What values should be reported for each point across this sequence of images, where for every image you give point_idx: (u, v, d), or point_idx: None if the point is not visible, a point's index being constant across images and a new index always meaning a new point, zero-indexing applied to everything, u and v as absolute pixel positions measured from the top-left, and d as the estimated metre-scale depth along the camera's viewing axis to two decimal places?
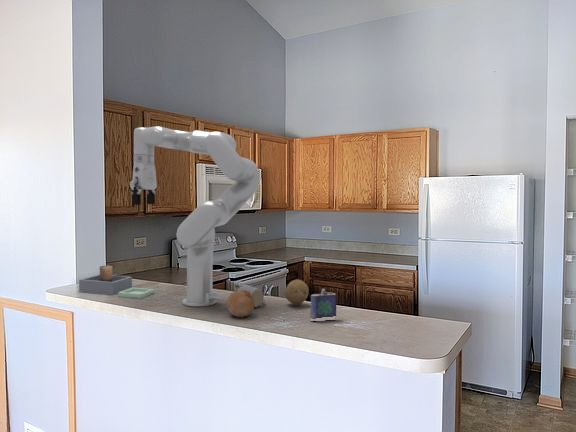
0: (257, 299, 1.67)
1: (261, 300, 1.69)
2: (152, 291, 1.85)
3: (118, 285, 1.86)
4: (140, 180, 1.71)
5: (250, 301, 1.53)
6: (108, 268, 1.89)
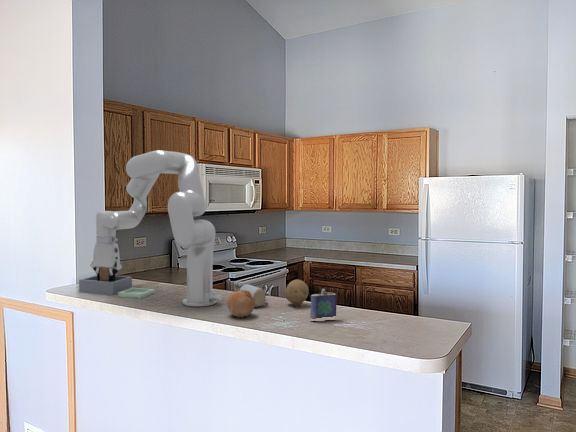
0: (259, 299, 1.68)
1: (263, 299, 1.70)
2: (152, 291, 1.85)
3: (118, 285, 1.86)
4: (118, 259, 1.91)
5: (250, 301, 1.53)
6: (108, 268, 1.89)
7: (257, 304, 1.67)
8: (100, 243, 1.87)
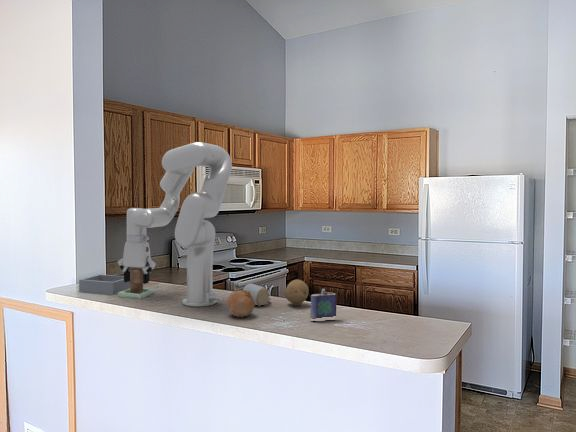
0: (263, 298, 1.69)
1: (266, 299, 1.71)
2: (152, 291, 1.85)
3: (118, 285, 1.86)
4: (149, 258, 1.83)
5: (250, 301, 1.53)
6: (139, 271, 1.81)
7: (260, 303, 1.69)
8: (131, 242, 1.78)
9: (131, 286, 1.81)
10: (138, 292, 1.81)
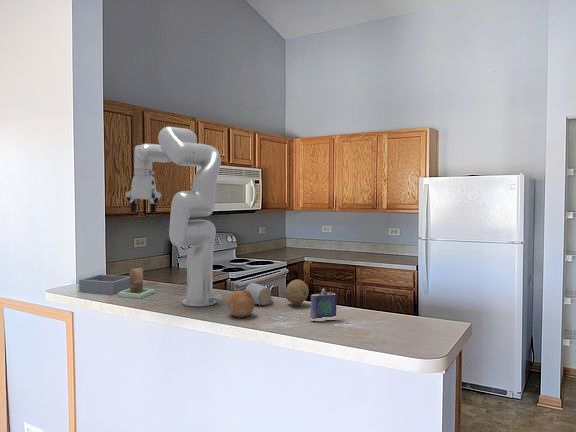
0: (265, 297, 1.70)
1: (269, 298, 1.72)
2: (152, 291, 1.85)
3: (118, 285, 1.86)
4: None
5: (250, 301, 1.53)
6: (139, 271, 1.81)
7: (263, 302, 1.70)
8: (138, 175, 1.98)
9: (131, 286, 1.81)
10: (138, 292, 1.81)
